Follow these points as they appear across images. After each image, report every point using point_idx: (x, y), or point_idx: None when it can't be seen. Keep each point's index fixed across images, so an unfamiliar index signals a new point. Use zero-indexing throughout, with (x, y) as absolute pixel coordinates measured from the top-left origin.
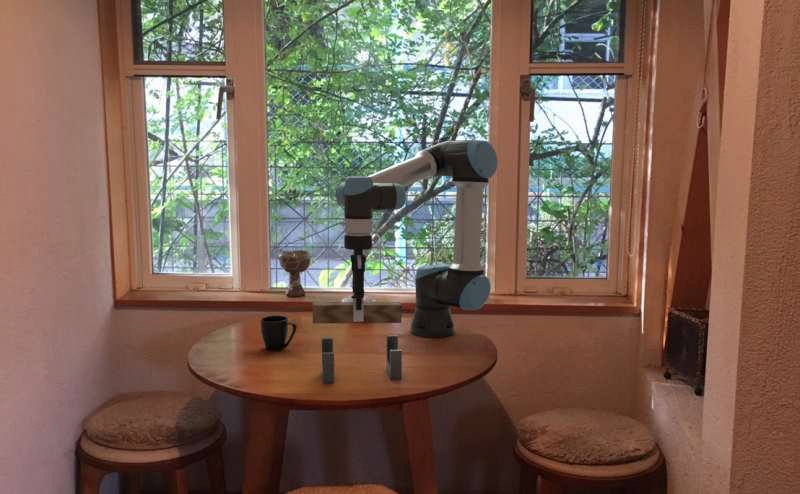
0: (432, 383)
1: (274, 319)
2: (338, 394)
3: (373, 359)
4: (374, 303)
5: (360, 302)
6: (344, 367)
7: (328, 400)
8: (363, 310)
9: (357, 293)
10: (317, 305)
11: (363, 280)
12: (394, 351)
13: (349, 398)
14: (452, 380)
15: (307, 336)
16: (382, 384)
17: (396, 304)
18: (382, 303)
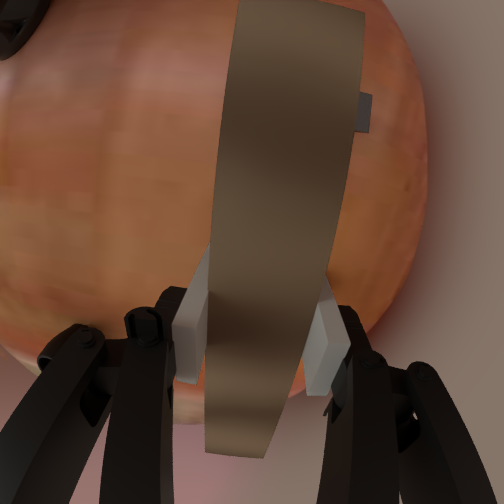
0: (382, 47)
1: (45, 365)
2: (383, 267)
3: (158, 142)
4: (276, 210)
5: (365, 344)
6: (210, 227)
7: (400, 287)
8: (329, 286)
9: (412, 414)
10: (265, 451)
11: (481, 471)
12: (369, 119)
13: (409, 250)
14: (370, 3)
15: (20, 273)
16: (362, 160)
17: (339, 38)
18: (285, 140)
